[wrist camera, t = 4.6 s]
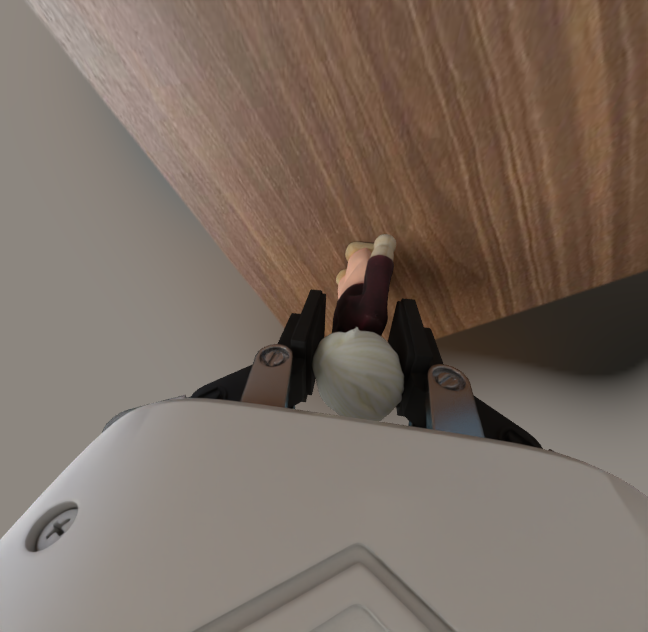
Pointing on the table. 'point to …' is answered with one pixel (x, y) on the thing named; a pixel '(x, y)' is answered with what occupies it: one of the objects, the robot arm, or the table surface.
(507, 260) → the table surface
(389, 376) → the grandmother figurine
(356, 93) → the table surface
